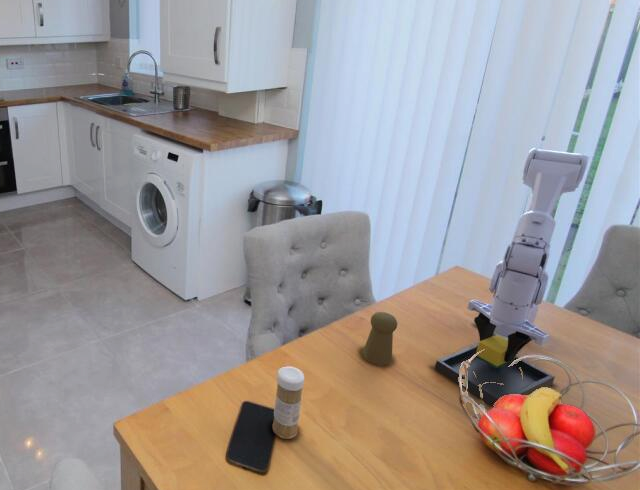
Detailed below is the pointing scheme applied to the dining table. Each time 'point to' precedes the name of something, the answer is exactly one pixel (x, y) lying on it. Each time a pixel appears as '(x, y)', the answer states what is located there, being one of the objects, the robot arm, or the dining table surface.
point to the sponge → (493, 351)
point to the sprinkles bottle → (288, 402)
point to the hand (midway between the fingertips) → (495, 353)
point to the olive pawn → (380, 339)
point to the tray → (494, 375)
